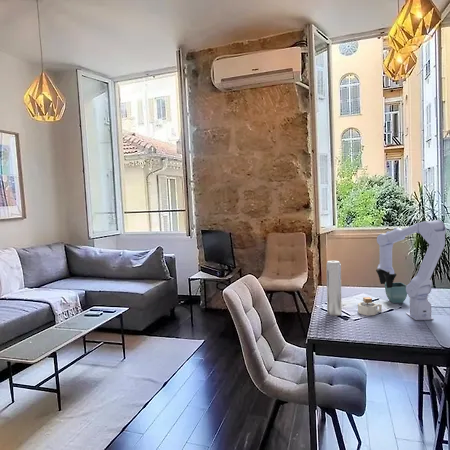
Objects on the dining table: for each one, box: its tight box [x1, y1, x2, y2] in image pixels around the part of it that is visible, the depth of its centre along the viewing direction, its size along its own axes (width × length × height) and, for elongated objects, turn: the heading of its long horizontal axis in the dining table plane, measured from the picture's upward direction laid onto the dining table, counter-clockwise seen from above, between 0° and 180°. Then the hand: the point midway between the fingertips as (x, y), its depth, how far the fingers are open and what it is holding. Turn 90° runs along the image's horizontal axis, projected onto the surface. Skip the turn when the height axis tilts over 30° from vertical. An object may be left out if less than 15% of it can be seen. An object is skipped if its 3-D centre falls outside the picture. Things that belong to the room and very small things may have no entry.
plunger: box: [362, 296, 373, 306], centre depth 186 cm, size 5×5×6 cm
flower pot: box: [384, 281, 408, 304], centre depth 201 cm, size 9×9×9 cm
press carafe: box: [357, 301, 383, 316], centre depth 186 cm, size 8×10×4 cm
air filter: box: [326, 260, 343, 317], centre depth 185 cm, size 6×6×25 cm
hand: (386, 285), depth 193 cm, fingers open, 7 cm apart
